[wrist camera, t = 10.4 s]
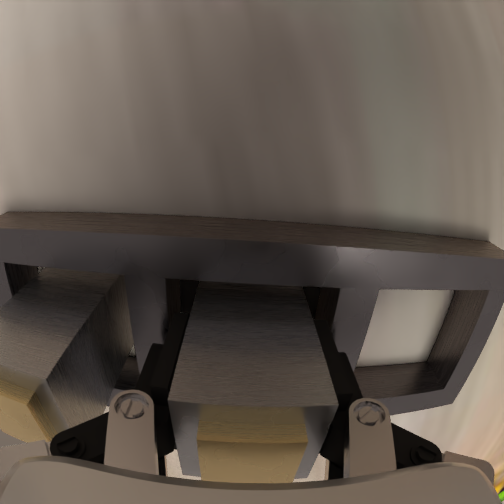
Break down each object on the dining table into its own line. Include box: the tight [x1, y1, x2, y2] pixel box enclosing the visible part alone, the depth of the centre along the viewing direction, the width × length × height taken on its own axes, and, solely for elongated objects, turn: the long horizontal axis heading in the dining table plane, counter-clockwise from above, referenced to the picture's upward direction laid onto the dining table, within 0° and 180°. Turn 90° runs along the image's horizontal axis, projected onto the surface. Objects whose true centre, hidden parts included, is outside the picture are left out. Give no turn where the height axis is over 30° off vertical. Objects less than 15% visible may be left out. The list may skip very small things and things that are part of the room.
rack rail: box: [0, 212, 504, 415], centre depth 13 cm, size 24×9×2 cm, turn 86°
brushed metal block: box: [168, 281, 339, 483], centre depth 10 cm, size 4×4×8 cm
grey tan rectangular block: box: [0, 267, 134, 443], centre depth 10 cm, size 4×4×8 cm
